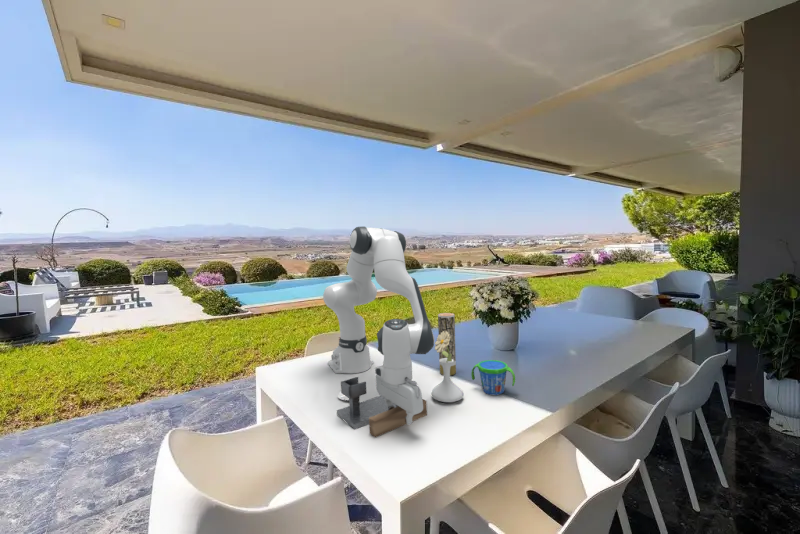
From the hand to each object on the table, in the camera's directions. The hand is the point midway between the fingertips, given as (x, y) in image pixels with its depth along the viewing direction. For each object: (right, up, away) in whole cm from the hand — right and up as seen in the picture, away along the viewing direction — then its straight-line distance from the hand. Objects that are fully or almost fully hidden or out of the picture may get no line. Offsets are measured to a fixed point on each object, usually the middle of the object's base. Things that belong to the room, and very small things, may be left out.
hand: (399, 417), depth 111 cm
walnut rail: (0, -2, 0) cm, 2 cm away
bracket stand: (-7, -2, +10) cm, 12 cm away
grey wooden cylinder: (+20, +1, +40) cm, 45 cm away
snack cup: (+34, 0, +21) cm, 40 cm away
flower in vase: (+17, -1, +16) cm, 23 cm away
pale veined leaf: (-18, -2, +20) cm, 27 cm away
